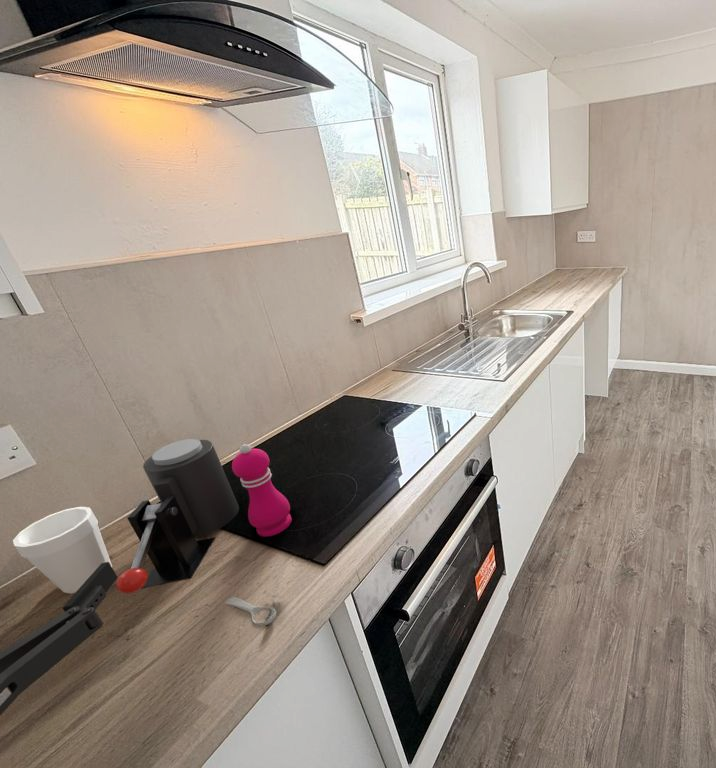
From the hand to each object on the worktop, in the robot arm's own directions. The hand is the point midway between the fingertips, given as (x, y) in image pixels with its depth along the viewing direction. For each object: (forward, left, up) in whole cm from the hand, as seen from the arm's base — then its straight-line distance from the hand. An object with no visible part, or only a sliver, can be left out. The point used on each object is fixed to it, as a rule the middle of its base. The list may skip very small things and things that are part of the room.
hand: (47, 582), depth 51 cm
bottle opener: (+13, +10, -18) cm, 25 cm away
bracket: (-7, +18, -18) cm, 27 cm away
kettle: (-11, +29, -18) cm, 36 cm away
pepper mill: (+5, +28, -18) cm, 34 cm away
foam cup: (-21, +14, -18) cm, 31 cm away
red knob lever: (-5, +14, -10) cm, 18 cm away
